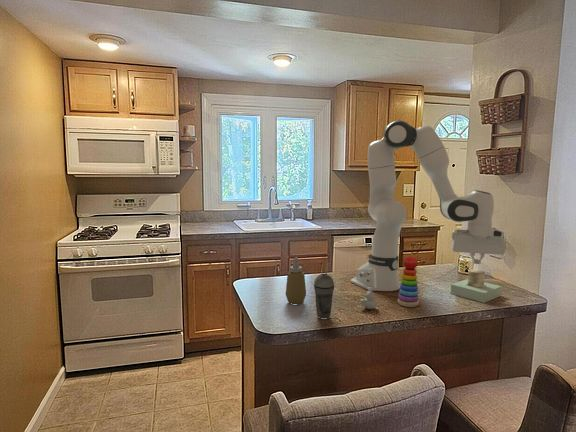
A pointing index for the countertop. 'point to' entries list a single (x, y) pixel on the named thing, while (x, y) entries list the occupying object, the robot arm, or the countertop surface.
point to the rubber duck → (369, 300)
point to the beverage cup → (324, 294)
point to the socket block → (476, 291)
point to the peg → (476, 278)
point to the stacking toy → (409, 284)
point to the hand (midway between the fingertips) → (476, 263)
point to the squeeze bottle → (295, 284)
